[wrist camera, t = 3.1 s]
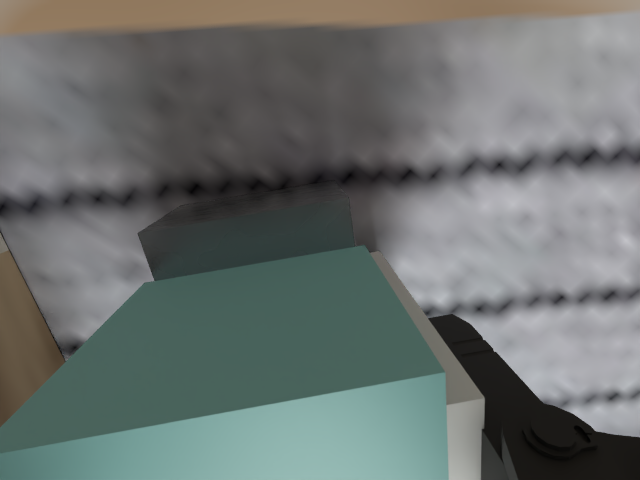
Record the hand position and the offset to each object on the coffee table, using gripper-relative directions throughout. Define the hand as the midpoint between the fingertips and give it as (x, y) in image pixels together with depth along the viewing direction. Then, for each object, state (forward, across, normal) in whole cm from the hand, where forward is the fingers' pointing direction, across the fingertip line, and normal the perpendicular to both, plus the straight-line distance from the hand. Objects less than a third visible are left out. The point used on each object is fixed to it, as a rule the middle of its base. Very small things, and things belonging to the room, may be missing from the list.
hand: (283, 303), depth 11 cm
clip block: (-3, 0, 0) cm, 3 cm away
